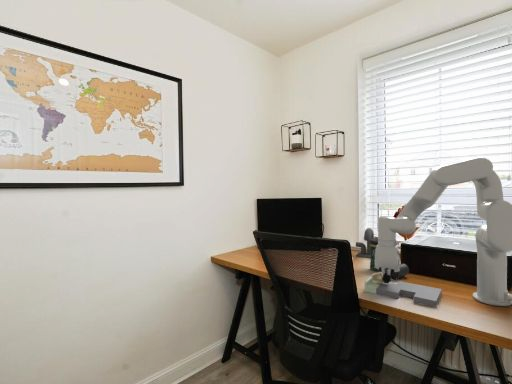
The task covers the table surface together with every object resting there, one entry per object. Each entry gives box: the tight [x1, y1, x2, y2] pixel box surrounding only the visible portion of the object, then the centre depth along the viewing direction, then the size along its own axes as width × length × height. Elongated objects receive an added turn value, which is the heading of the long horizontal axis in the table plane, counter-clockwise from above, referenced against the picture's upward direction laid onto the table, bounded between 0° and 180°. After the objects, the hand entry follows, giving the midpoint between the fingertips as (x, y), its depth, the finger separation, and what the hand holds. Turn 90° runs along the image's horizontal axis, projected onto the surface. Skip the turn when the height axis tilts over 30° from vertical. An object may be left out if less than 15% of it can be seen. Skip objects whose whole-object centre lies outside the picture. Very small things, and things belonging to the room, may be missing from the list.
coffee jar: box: [369, 236, 388, 273], centre depth 162 cm, size 10×8×19 cm
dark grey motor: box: [386, 263, 410, 281], centre depth 150 cm, size 10×7×7 cm
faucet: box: [355, 227, 375, 260], centre depth 188 cm, size 18×16×20 cm
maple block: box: [370, 272, 384, 284], centre depth 135 cm, size 4×4×4 cm
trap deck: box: [364, 276, 443, 308], centre depth 129 cm, size 28×16×4 cm, turn 51°
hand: (386, 282), depth 133 cm, fingers closed
